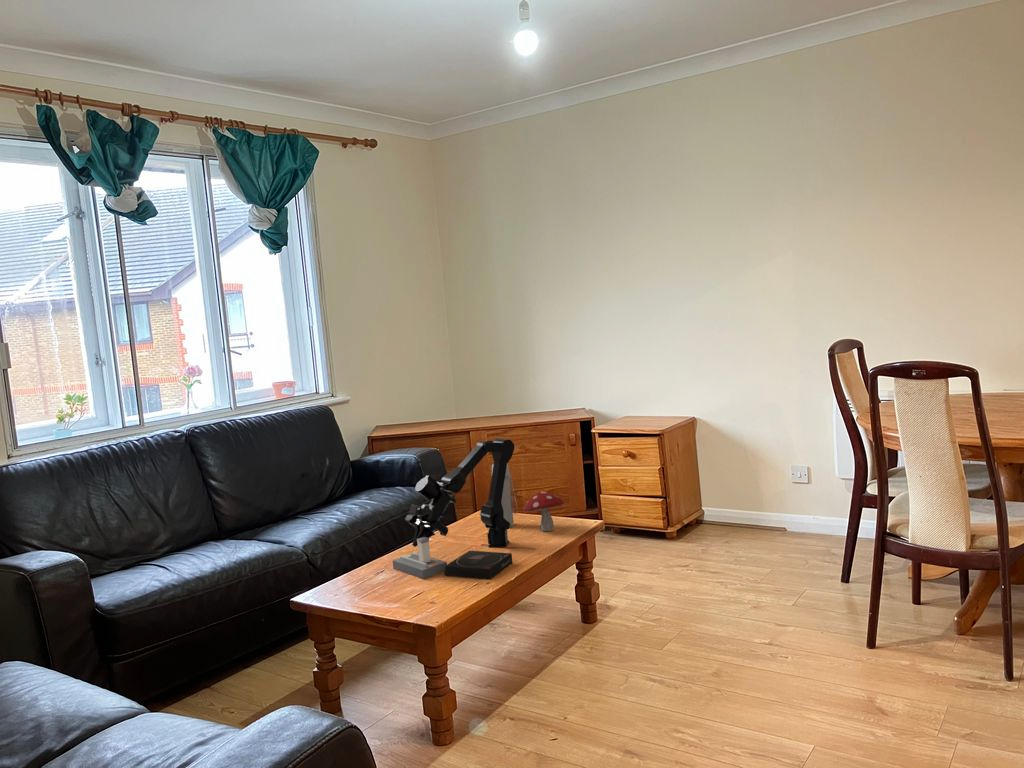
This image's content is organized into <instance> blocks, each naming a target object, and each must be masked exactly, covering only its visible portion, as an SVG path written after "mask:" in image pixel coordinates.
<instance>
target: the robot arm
mask: <svg viewBox="0 0 1024 768" xmlns="http://www.w3.org/2000/svg"><path fill="white" fill-rule="evenodd" d="M514 452H515V444H514V442H513V441H512V440H511V439H508V438H499V437H498V438H495V439H494V440H479V441H478V442H477V443H476V445H475V446H474V447H473V449H472V450H471V451H470V452H469V453H468V454H467V456H466V457H465V458H464V459H463V460H462V461H461V463H459V465H458V466H457V467H456V468H454V469H452V470H450V471H448V472H447V473H446V474H445V475H444V476H442V477H441V479H439V480H437V481H436V480H434V479H433V477H432V476H431V475H429V474H426V475H425V477H423V478H421V479H420V480H419V481H418V482H417V483H416V485H415V487H414V490H415V491H416V492H417V493H418V494H420V495H421V496H422V497H423V498H425V499H426V500H427V501H428V500H429V501H430V500H431V501H430V502H429V504H422V505H417V504H412V503H411V505H410V509H409V512H408V514H407V515H406V517H404V518H405V519H404V520H405V522H407V523H408V524H409V525H411V526H412V527H414V529H415V530H414V536H413V540H412V547H414V548H417V547H418V544H417V539H418V538H421V537H427V538H429V539H430V538H432V537H433V536H435V535H436V533H435V532H436V531H438V532H439V534H440V536H444V537H446V536H447V535H448V533H449V527H447V525H445V524H444V523H443V522H442V521H440V519H441V518H445V514H444V512H445V511H446V509H447V507H448V506H449V505H450V503H452V504H456V502H457V501H456V498H455V497H456V496H455V495H454V494H458V493H460V492H461V491H462V489H463V488H464V486H465V485H466V483H467V478H468V476H469V475H470V473H472V472H473V470H474V469H475V468H476V466H478V464H480V462H481V461H482V460H483V459H484V458H485V456H487V454H488V453H491V456H492V459H493V464H494V466H493V472H492V471H491V480H490V485H489V492H488V498H487V499H488V500H487V502H486V503H485V504H481V506H480V513H479V516H480V521H481V522H482V523H483V524H484V526H485V528H487V529H488V530H487V531H488V532H487V533H486V534H487V535H486V536H487V545H488V548H505V547H507V545H508V544H509V543H510V540H509V539H508V538H509V537H508V530H509V529H510V528H511V527H510V523H509V522H508V521H507V520H506V519H504V510H503V507H502V504H501V501H502V494H503V488H504V481H505V475H506V468H507V463H508V464H509V462H510V460H511V459H512V457H513V455H514ZM448 492H449V493H448ZM450 493H453V494H450Z"/></svg>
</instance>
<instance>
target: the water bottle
mask: <svg viewBox="0 0 1024 768" xmlns="http://www.w3.org/2000/svg"><path fill="white" fill-rule="evenodd" d="M493 466H494V463H493V464H492V465H491V473H492V472H493ZM512 492H513V493H512ZM513 495H514V496H513ZM516 499H517V498H516V493H515V489H514V484H513V476H512V475H511V474H510V468H509V462H508V463H507V468H506V475H505V481H504V488H503V494H502V501H501V504H502V507H503V510H504V519H506V520H507V521H508V522H509V523H510V527H509V528H511V527H512V526H514V523H515V522H514V515H516V514H518V511H514V509H513V507H514V500H515V505H516V506H515V507H516V508H518V504H517V500H516Z"/></svg>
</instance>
